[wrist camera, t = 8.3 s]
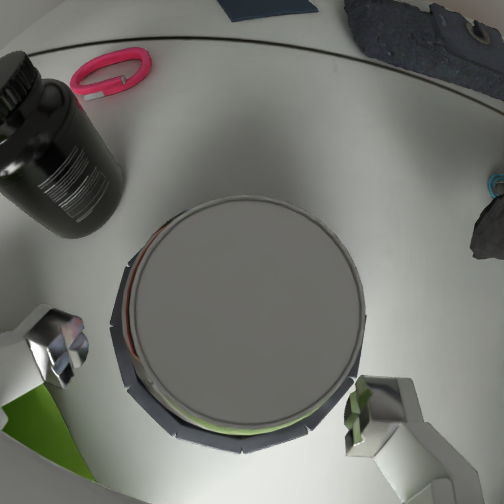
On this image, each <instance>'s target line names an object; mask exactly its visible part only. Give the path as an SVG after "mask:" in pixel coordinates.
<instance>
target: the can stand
mask: <svg viewBox="0 0 504 504" xmlns="http://www.w3.org/2000/svg"><path fill="white" fill-rule="evenodd" d="M140 251H141V250H140ZM140 251H139V252H140ZM139 252H138V253H137V254H136V255H135V256H134V257H133V258H132V259H131V260H130V261H129V262H128V265H129V266H130V267H127V266H126V267H125V270H124V273H123V276H122V280H121V283H120V287H119V290H118V294H117V297H116V301H115V305H114V308H113V312H112V316H111V320H110V325H113V327H110V333H111V337H112V341H113V346H114V350H115V354H116V358H117V362H118V365H119V369H120V373H121V377H122V380H123V384H124V387H125V388H128V387H130V388H129V389H128V390H127V392H128V393H129V394H130V395H131V396H132V397H133V398H134V399H135V400H136V402H137V403H138V404H139V405H140V406H141V407H142V408H143V409H144V410H145V411H146V412H147V413H148V414H149V415H150V416H151V417H152V418H153V419H154V420H155V421H156V422H157V423H158V424H159V425H160V426H161V427H162V428H164V429H165V430H166V431H167V432H168V433H169V434H170V435H171V436H174V435H175V434H176V438H177V439H179V440H183V441H187V442H190V443H194V444H198V445H201V446H205V447H209V448H214V449H218V450H222V451H227V452H231V453H236V454H240V453H241V450H242V451H243V453H244V454H247V453H251V452H254V451H258V450H261V449H265V448H268V447H271V446H274V445H278V444H281V443H284V442H287V441H290V440H293V439H296V438H299V437H302V436H304V435H307V434H308V431H307V429H308V430H309V431H313V430H314V429H315V427H316V426H317V425H318V424H319V423H320V422H321V421H322V420H323V419H324V417H325V416H326V415H327V414H328V413H329V412H330V411H331V410H332V408H333V407H334V406H335V405H336V404H337V403H338V401H339V400H340V399H341V398H342V397H343V395H344V394H345V393H346V392H347V391H348V389H349V388H350V387H351V386H352V384H353V383H354V381H353V380H352V379H351V378H357V373H358V367H359V362H360V356H361V350H362V344H361V347H360V350H359V352H358V355H357V358H356V360H355V363H354V365H353V367H352V368H351V370H350V372H349V373H348V375H347V377H346V378H345V380H344V381H343V383H342V384H341V385H340V386H339V388H338V389H337V390H336V391H335V392H334V393H333V395H332V396H331V397H330V398H329V399H328V400H327V401H326V402H325V403H324V404H323V405H322V406H320V407H319V408H318V409H317V410H315V411H314V412H313V413H312V414H310V415H309V416H307V417H305V418H303V419H302V420H300V421H298V422H296V423H294V424H292V425H290V426H287V427H284V428H281V429H278V430H275V431H272V432H267V433H260V434H253V435H233V434H224V433H219V432H215V431H210V430H206V429H203V428H201V427H199V426H196V425H194V424H192V423H189V422H187V421H185V420H183V419H182V418H180V417H179V416H177V415H176V414H174V413H173V412H171V411H170V410H168V409H167V408H166V407H165V406H163V405H162V404H161V403H160V402H159V401H158V400H157V399H156V398H155V397H154V396H153V395H152V394H151V393H150V391H149V390H148V389H147V387H146V386H145V385H144V383H143V382H142V380H141V379H140V378H139V376H138V374H137V372H136V370H135V368H134V366H133V364H132V362H131V360H130V357H129V355H128V351H127V348H126V344H125V340H124V336H123V327H122V303H123V294H124V289H125V286H126V282H127V279H128V276H129V272H130V270H131V268H132V266H133V264H134V262H135V260H136V258H137V256H138V254H139ZM365 323H366V315H365ZM364 330H365V328H364ZM363 337H364V333H363ZM362 343H363V339H362Z"/></svg>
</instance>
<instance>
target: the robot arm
mask: <svg viewBox="0 0 504 504" xmlns="http://www.w3.org/2000/svg"><path fill="white" fill-rule="evenodd" d="M83 329H84V325H83V321H82V319H81V318H80V317H78V316H75V315H72V314H70V313H67V312H64V311H62V310H59V309H56V308H53V307H51V306H48V305H45V304H41V305H39V306H38V307H37V308H36V309H34V310H33V311H32V312H31V313H30V314H29V315H28V316H27V317H26V318H25V319H24V320H23V321H22V322H21V323H20V324H19V325H18V326H17V327H16V328H15V329H14V330H13V331H12V332H11V331H6V332H3V333H0V504H150V503H147V502H144V501H141V500H139V499H136V498H133V497H130V496H127V495H125V494H122V493H120V492H117V491H114V490H112V489H109V488H107V487H105V486H102V485H100V484H98V483H95V482H93V481H91V480H89V479H86V478H84V477H82V476H80V475H78V474H76V473H74V472H72V471H70V470H68V469H66V468H64V467H62V466H60V465H58V464H56V463H54V462H53V461H51V460H49V459H47V458H45V457H44V456H42V455H40V454H38V453H37V452H35V451H33V450H32V449H30V448H28V447H27V446H25V445H23V444H22V443H20V442H19V441H17V440H15V439H14V438H12V437H11V436H9V435H8V434H6V433H5V432H3V431H2V429H3V428H4V426H5V425H6V423H7V422H8V417H7V415H6V414H5V412H4V411H3V409H2V408H1V407H2V406H4V405H5V404H7V403H9V402H11V401H12V400H14V399H16V398H18V397H20V396H21V395H23V394H25V393H27V392H28V391H30V390H32V389H34V388H35V387H37V386H39V385H41V384H42V383H44V381H45V382H47V383H49V384H52V385H54V386H56V387H58V388H61V389H63V390H65V389H66V387H67V386H68V384H69V383H70V382H71V380H72V379H73V377H74V376H75V374H74V369H76V368H78V367H81V366H82V365H83V363H84V362H85V360H86V358H87V354H88V346H89V344H88V340H87V338H86V336H85V335H84V334H83V332H82V330H83ZM355 385H356V391H354V392H353V393H351V394H350V396H349V398H348V400H347V402H346V406H345V410H344V425H345V426H346V427H347V428H348V429H349V431H348V433H347V434H346V436H345V449H346V456H353V457H374V458H373V459H374V461H375V462H376V464H377V465H378V467H379V468H380V470H381V471H382V473H383V474H384V476H385V477H386V479H387V480H388V482H389V483H390V485H391V486H392V488H393V489H394V491H395V492H396V494H397V495H398V497H399V498H400V500H401V501H402V502H403V504H485V503H484V498H483V493H482V489H481V484H480V480H479V476H478V472H477V471H476V470H475V469H474V468H473V467H472V466H471V465H470V464H469V463H468V462H467V461H466V460H465V459H464V458H463V457H462V456H461V455H460V454H459V453H458V452H457V451H456V449H455V448H454V447H453V446H452V445H451V444H450V443H449V442H448V441H447V440H446V439H445V438H444V437H443V436H442V435H441V434H440V433H439V432H438V431H437V430H436V429H435V428H434V427H433V426H432V425H431V424H430V423H429V422H424V420H423V416H422V412H421V408H420V405H419V401H418V398H417V394H416V390H415V387H414V384H413V381H412V379H411V378H400V377H394V378H393V377H383V376H369V375H361V376H360V377H359V378H358V380H357V382H356V384H355Z"/></svg>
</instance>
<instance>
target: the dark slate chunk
mask: <svg viewBox="0 0 504 504" xmlns="http://www.w3.org/2000/svg"><path fill="white" fill-rule="evenodd" d="M344 3H345V7H344V9H345V11H346V13H347V15H348V22H349V27H350V28H351V31H352V33H353V35H354V40H355V42H356V43H358V46H359V47H360V48H361V49H362V50H363V51H364V52H365V55H367V56H369V57H371V58H376V59H378V60H381V61H384V62H387V63H389V64H392V65H394V66H396V67H402V68H404V69H406V70H413V71H415V72H418V73H423V74H425V75H427V76H430V77H435V78H439V79H441V80H445V81H447V82H449V83H450V82H451V83H454V84H457V85H460V86H463V87H466V88H469V89H470V88H471V89H473V90H475V91H479V92H482V93H484V94H487V95H489V96H491V97H494V98H497V99H501V100H503V101H504V43H503V40H502V36H501V34H500V32H499V31H498V30H497V29H495V28H491V27H489V26H486V25H484V24H483V23H479V22H478V21H476V20H474V25H475V26H472V25H471V24H470V23H469V22H468V21H466V19H465V18H464V17H463V16H462V15H461V14H460V13H457V12H451V11H448V10H446V9H445V8H444V7H443V6H440V5H438V4H436V3H433V4H431V5H429V7H430V12H429V13H428V12H425V11H424V12H422V11H420V10H419V8H418V7H416V6H411V5H409V4H407V3H401V2H397V1H393V0H344Z"/></svg>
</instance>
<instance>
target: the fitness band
mask: <svg viewBox="0 0 504 504" xmlns="http://www.w3.org/2000/svg"><path fill="white" fill-rule="evenodd" d="M130 59H139V60H142V64H141V67H140V69H139V70H138V71H137V72H136V73H135V74H134V75H133V76H132V77H130V78H128V79H127V80H126V77H125V76H124V75H122V76H118V77H115V78H111V79H108V80H104V81H101V82H98V83H94V84H89V85H79V83H80V82H81V81H82V80H83V79H84V78H85V77H86V76H87V75H88V74H90V73H91V72H93V71H95V70H97V69H99V68H101V67H104V66H107V65H111V64H114V63H118V62H122V61H126V60H130ZM151 65H152V63H151V58H150V55H149V53H148V51H147V50H145V49H144V48H140V47H132V48H126V49H122V50H118V51H114V52H111V53H108V54H105V55H102V56H99V57H97V58H94V59H92V60H90V61H89V62H87V63H85V64H84V65H83V66H82V67H80V68H79V69H78V70H77V71H76V72H75V74H74V75H73V76H72V78H71V81H70V86H71V89H72V90H73V91H74V93H76V94H81V95H83V97H84V99H85V100H86V101H88V100H92V99H96V98H100V97H104V96H108V95H112V94H115V93H118V92H121V91H124V90H126V89H129V88H131V87H133V86H134V85H136V84H138V83H139V82H140V81H142V80H143V79H144V78H145V77H146V76H147V74H148V73H149V71H150V69H151Z"/></svg>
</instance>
